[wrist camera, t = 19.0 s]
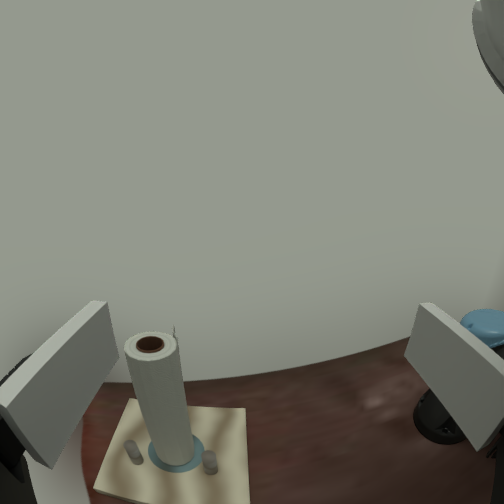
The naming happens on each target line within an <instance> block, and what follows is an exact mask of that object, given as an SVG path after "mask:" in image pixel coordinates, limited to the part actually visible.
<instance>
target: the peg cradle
mask: <svg viewBox="0 0 504 504" xmlns="http://www.w3.org/2000/svg"><path fill="white" fill-rule="evenodd" d="M187 410H188V415H189V421H190V426H191V431H192V436H193V441H194V457H193V458H192V459H191V461H190V462H188V463H186V464H185V465H180V466H173V465H168V464H166V463H164V462H162V461H161V460H160V458H159V457H158V456H157V453H156V451H155V448H154V446H153V443H152V441H151V438H150V435H149V433H148V430H147V427H146V424H145V422H144V419H143V416H142V413H141V410H140V406H139V403H138V400H137V399H131V398H130V399H129V401H128V403H127V406H126V408H125V410H124V413H123V415H122V417H121V420H120V422H119V424H118V427H117V429H116V431H115V434H114V436H113V439H112V441H111V443H110V446H109V448H108V451H107V453H106V456H105V458H104V461H103V463H102V466H101V469H100V471H99V474H98V476H97V479H96V482H95V485H94V487H93V488H94V489H95V490H96V491H97V492H98V493H101V494H104V495H108V496H111V497H114V498H117V499H121V500H125V501H128V502H132V503H136V504H250V495H249V477H248V457H247V436H246V413H245V408H212V407H196V406H187Z"/></svg>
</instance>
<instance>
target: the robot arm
mask: <svg viewBox="0 0 504 504" xmlns="http://www.w3.org/2000/svg"><path fill="white" fill-rule="evenodd" d="M472 23H473V30H474V35H475V39H476V42H477V46H478V49H479V52H480V55H481V58H482V60H483V62H484V64H485V67H486V68H487V70H488V72H489V74H490V75H491V77H492V78H493V80H494V82H495V84H496V85H497V86H498V87H499V89H500V90H501V91H502V93H503V94H504V0H476V2H475V5H474V8H473V13H472ZM404 356H405V357H406V359H407V360H408V361H409V362H410V364H411V365H412V366H413V367H414V368H415V370H416V371H417V372H418V373H419V375H420V376H421V377H422V378H423V380H424V381H425V382H426V384H427V385H428V386H429V387H430V389H429V390H428V391H427V392H426V393H425V394H424V395H423V396H422V397H421V398H420V400H419V402H418V404H417V406H416V408H415V410H414V422H415V424H416V427H417V428H418V430H419V431H420V432H421V433H422V434H423V435H424V436H425V437H426V438H428V439H430V440H432V441H434V442H437V443H440V444H454V443H458V442H460V441H462V440H464V439H465V438H468V440H469V441H470V443H471V444H472V445H473V447H474V448H475V450H476V451H477V452H478V451H479V450H481V449H482V448H484V447H485V446H487V445H489V444H490V443H491V441H492V440H493V439H494V438H495V436H496V435H497V434H498V432H500V434H501V435H502V436H501V437H500V438H499V439H498V441H497V442H496V443H495V444H494V446H493V447H492V448H491V449H490V451H489V452H488V453H487V456H486V458H488V457H489V456H490V455H491V454H492V453H493V452H494V450H496V449H497V451H496V452H495V453H494V454H493V456H492V457H491V458H496V468H495V478H494V485H493V492H492V497H491V503H490V504H504V312H502V311H498V310H492V309H480V310H474V311H472V312H469V313H468V314H466V315H465V316H464V317H463V318H462V320H461V322H460V324H459V323H458V322H457V321H455V320H454V319H453V318H452V317H450V316H449V315H448V314H446V313H445V312H444V311H442V310H441V309H439V308H438V307H437V306H435V305H434V304H433V303H421V304H419V307H418V311H417V314H416V318H415V322H414V326H413V329H412V333H411V336H410V339H409V342H408V345H407V349H406V352H405V355H404ZM118 359H119V354H118V350H117V346H116V342H115V337H114V334H113V328H112V324H111V319H110V314H109V309H108V303H107V302H103V301H94V300H92V301H91V302H90V303H89V304H88V305H86V306H85V307H84V308H83V309H82V310H81V311H79V312H78V313H77V314H76V315H75V316H74V317H73V318H71V319H70V320H69V321H68V322H67V323H66V324H65V325H64V326H62V327H61V328H60V329H59V330H58V331H57V332H56V333H55V334H54V335H53V336H51V337H50V338H49V339H48V340H47V341H46V342H45V343H44V344H43V345H42V346H41V347H40V348H38V349H37V350H36V352H34V353H33V354H31V355H29V356H27V357H25V358H23V359H22V360H21V361H20V362H19V363H18V364H17V365H16V366H15V369H14V368H13V369H12V370H11V371H10V372H9V373H8V375H6V376H5V377H4V378H3V379H2V380H1V381H0V504H37V501H36V498H35V495H34V490H33V487H32V483H31V479H30V474H29V470H28V465H27V461H26V459H25V457H24V456H23V453H24V451H25V450H27V452H28V453H29V454H30V455H31V457H32V458H33V459H34V460H35V461H37V462H39V463H41V464H42V465H44V466H46V467H48V468H50V469H53V467H54V465H55V463H56V462H57V459H58V458H59V456H60V454H61V452H62V451H63V449H64V447H65V445H66V443H67V442H68V440H69V438H70V436H71V435H72V433H73V431H74V429H75V428H76V426H77V424H78V422H79V421H80V419H81V418H82V416H83V414H84V413H85V411H86V409H87V408H88V406H89V404H90V403H91V401H92V399H93V398H94V396H95V395H96V393H97V391H98V390H99V388H100V387H101V385H102V383H103V382H104V380H105V379H106V377H107V375H108V374H109V372H110V371H111V369H112V368H113V366H114V365H115V363H116V362H117V360H118Z"/></svg>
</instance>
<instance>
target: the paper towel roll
mask: <svg viewBox="0 0 504 504" xmlns="http://www.w3.org/2000/svg"><path fill="white" fill-rule="evenodd" d="M172 329H173V337H172V336H170V335H169V334H166V333H163V332H154V331H150V332H142V333H139V334H136V335H134V336H132V337H131V338H129V339H128V340H127V341H126V343H125V344H124V351H125V356H126V359H127V364H128V368H129V372H130V375H131V379H132V383H133V387H134V390H135V393H136V397H137V400H138V403H139V406H140V410H141V413H142V416H143V419H144V422H145V424H146V427H147V430H148V433H149V435H150V438H151V441H152V443H153V446H154V448H155V451H156V453H157V456H158V457H159V458H160V460H161V461H162V462H164V463H166V464H168V465H173V466H180V465H185V464H186V463H188V462H190V461H191V459H192V458H193V457H194V441H193V436H192V431H191V426H190V421H189V415H188V410H187V404H186V398H185V391H184V385H183V378H182V371H181V364H180V355H179V347H178V339H177V336H176V335H175V328H174V326H173V328H172Z"/></svg>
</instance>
